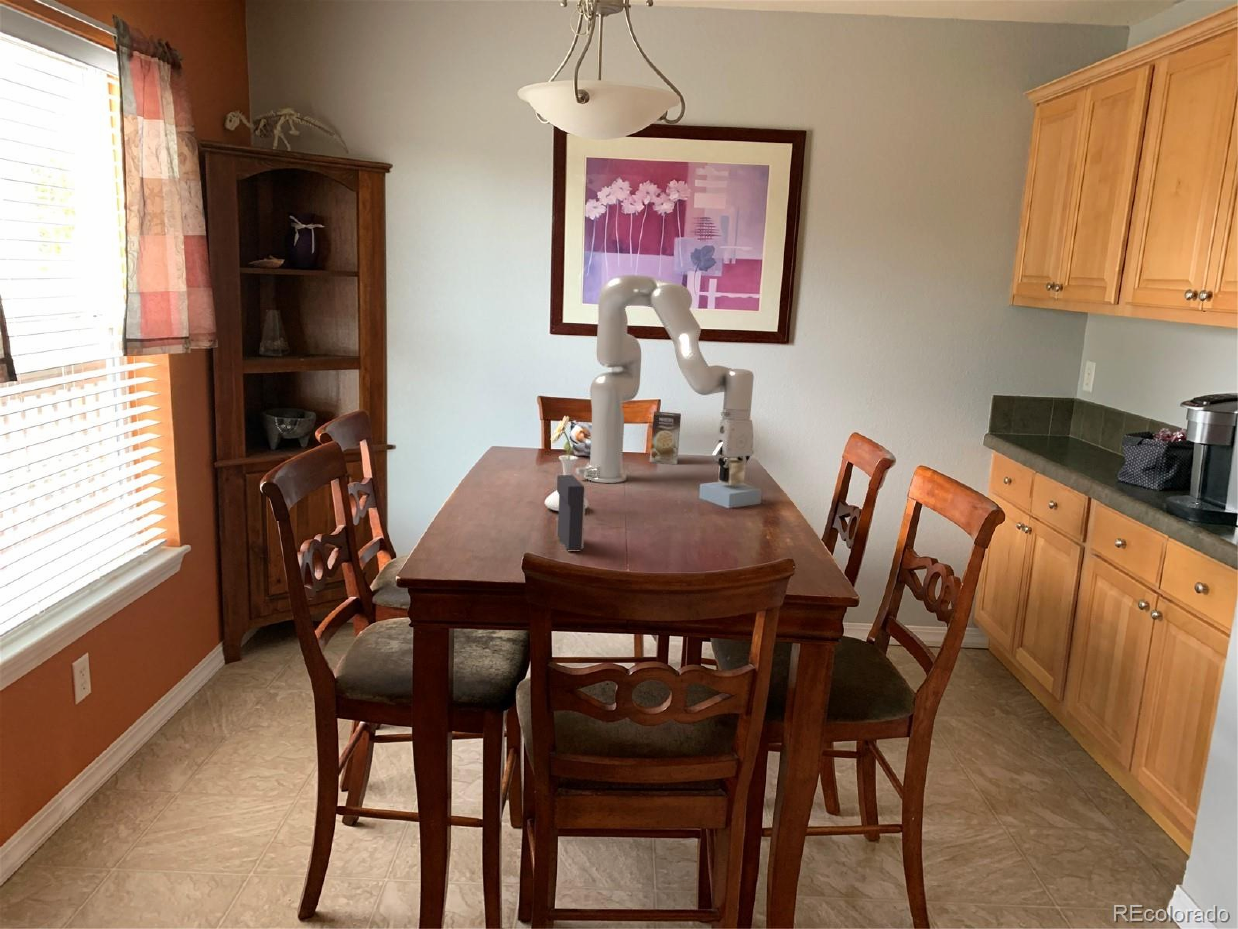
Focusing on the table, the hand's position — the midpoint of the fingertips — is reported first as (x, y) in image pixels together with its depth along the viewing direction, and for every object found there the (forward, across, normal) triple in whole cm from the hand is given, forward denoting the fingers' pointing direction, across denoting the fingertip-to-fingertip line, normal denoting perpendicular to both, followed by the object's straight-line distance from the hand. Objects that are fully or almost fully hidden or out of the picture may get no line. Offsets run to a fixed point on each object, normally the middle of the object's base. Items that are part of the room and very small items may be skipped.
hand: (731, 479), depth 251 cm
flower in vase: (+6, -47, +11) cm, 49 cm away
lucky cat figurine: (+7, -3, +65) cm, 65 cm away
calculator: (+6, -62, -14) cm, 64 cm away
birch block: (+1, 0, 0) cm, 1 cm away
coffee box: (+6, +15, +48) cm, 51 cm away
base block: (+6, 0, 0) cm, 6 cm away
